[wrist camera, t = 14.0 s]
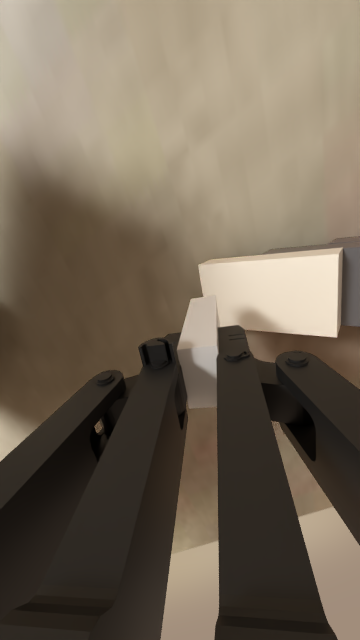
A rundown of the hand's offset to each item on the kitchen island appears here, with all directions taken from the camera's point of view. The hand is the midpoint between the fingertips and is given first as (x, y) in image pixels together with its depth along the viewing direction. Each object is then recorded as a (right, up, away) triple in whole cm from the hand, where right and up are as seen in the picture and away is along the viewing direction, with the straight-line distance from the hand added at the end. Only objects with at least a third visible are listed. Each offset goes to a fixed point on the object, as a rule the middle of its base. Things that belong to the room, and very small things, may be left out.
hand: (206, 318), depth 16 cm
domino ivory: (+1, +2, +5) cm, 6 cm away
